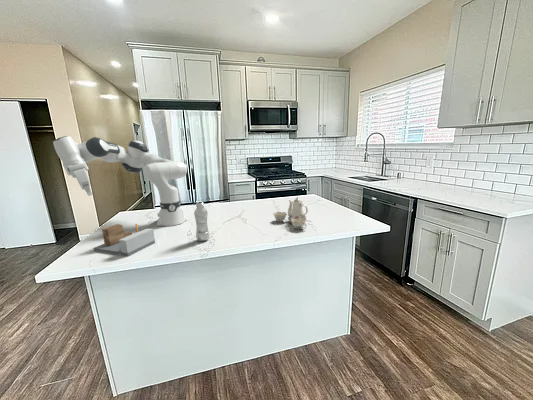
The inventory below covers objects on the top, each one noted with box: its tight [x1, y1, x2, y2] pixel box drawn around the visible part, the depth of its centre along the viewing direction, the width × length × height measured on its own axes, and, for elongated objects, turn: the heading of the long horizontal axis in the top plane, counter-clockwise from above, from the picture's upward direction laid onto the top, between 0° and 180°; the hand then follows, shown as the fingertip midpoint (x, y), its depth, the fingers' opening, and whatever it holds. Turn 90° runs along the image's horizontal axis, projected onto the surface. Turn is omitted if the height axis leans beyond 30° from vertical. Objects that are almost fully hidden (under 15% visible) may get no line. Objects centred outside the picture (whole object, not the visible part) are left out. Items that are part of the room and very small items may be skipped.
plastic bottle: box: [193, 201, 210, 242], centre depth 124 cm, size 6×7×20 cm
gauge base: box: [93, 228, 156, 257], centre depth 120 cm, size 22×16×8 cm
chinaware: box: [273, 197, 309, 230], centre depth 146 cm, size 28×17×17 cm, turn 38°
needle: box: [134, 223, 139, 233], centre depth 124 cm, size 2×3×8 cm, turn 161°
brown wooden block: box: [101, 223, 133, 246], centre depth 124 cm, size 4×12×8 cm, turn 160°
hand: (90, 195), depth 122 cm, fingers closed
